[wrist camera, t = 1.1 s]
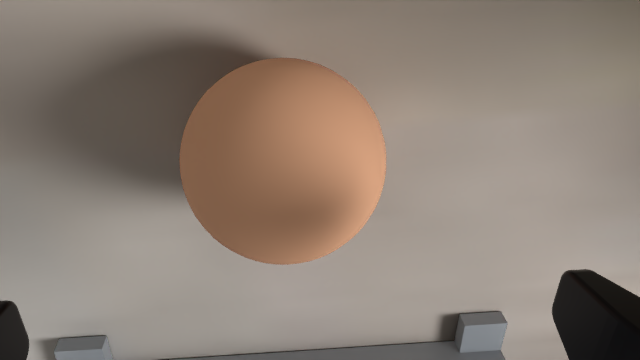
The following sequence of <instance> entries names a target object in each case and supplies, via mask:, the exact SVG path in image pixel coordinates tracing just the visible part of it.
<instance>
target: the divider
mask: <svg viewBox="0 0 640 360" xmlns="http://www.w3.org/2000/svg"><path fill="white" fill-rule="evenodd" d="M506 327H507V321H506V320H505V318H504V316H503V314H502V312H485V313H469V314H460V315H459V320H458V326H457V331H456V336H455V341H445V342H430V343H415V344H400V345H384V346H369V347H354V348H339V349H324V350H308V351H293V352H278V353H263V354H247V355H232V356H217V357H202V358H187V359H171V360H505V358H504V356H503V354H502V352H501V347H502V343H503V339H504V335H505V331H506ZM54 354H55V357H56V360H113V358H112V354H111V350H110V347H109V343H108V339H107V336H94V337H78V338H62V339H59V341H58V343H57V346H56V348H55V350H54Z"/></svg>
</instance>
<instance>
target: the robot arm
mask: <svg viewBox="0 0 640 360" xmlns="http://www.w3.org/2000/svg"><path fill="white" fill-rule="evenodd" d="M552 315H553V319H554V322H555V325H556V327H557V330H558V333H559V335H560V338H561V340H562V343H563V345H564V348H565V350H566V353H567V355H568V358H569V360H640V297H638V296H637V295H635V294H633V293H631V292H629V291H628V290H626V289H624V288H622V287H620V286H619V285H617V284H615V283H613V282H612V281H610V280H608V279H606V278H604V277H603V276H601V275H599V274H597V273H595V272H594V271H591V270H587V269H583V270H568V271H566V272H564V274H563V275H562V277H561V280H560V283H559V286H558V289H557V293H556V296H555V299H554V303H553V307H552ZM28 351H29V339H28V335H27V332H26V330H25V327H24V324H23V322H22V319H21V316H20V314H19V311H18V308H17V306H16V305H15V304H14V302H12V301H0V360H26V359H27V355H28Z"/></svg>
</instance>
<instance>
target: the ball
mask: <svg viewBox="0 0 640 360" xmlns="http://www.w3.org/2000/svg"><path fill="white" fill-rule="evenodd" d="M179 161H180V174H181V180H182V185H183V190H184V192H185V195H186V198H187V201H188V203H189V205H190V207H191V209H192V211H193V213H194V214H195V216H196V218H197V219H198V220H199V222H200V223H201V224H202V226H203V227H204V228H205V229H206V230H207V231H208V232H209V233H210V234H211V236H212V237H213V238H214V239H216V240H217V241H218V242H220V243H221V244H222V245H223V246H225V247H227V248H228V249H230V250H232V251H233V252H235V253H237V254H239V255H241V256H244V257H246V258H249V259H252V260H255V261H259V262H263V263H270V264H297V263H303V262H308V261H311V260H315V259H318V258H321V257H323V256H325V255H327V254H330V253H331V252H333V251H335V250H337V249H338V248H340V247H341V246H342V245H344V244H345V243H347V242H348V241H349V240H350V239H352V238H353V237H354V236H355V235H356V234H357V233H358V232H359V231H360V230H361V228H362V227H363V226H364V225H365V224H366V222H367V220H368V219H369V217H370V216H371V214H372V213H373V211H374V209H375V207H376V205H377V203H378V201H379V198H380V195H381V192H382V189H383V185H384V180H385V174H386V149H385V142H384V138H383V135H382V131H381V128H380V124H379V122H378V120H377V118H376V115H375V113H374V112H373V110H372V109H371V107H370V105H369V104H368V102H367V101H366V99H365V98H364V97H363V96H362V94H361V93H360V92H359V91H358V90H357V89H356V88H355V87H354V86H353V85H352V84H351V83H349V82H348V81H347V80H346V79H344V78H343V77H341V76H340V75H338V74H337V73H335V72H334V71H332V70H330V69H328V68H326V67H324V66H322V65H319V64H316V63H313V62H310V61H305V60H300V59H293V58H273V59H265V60H260V61H256V62H252V63H250V64H247V65H244V66H241V67H239V68H237V69H235V70H233V71H231V72H230V73H228V74H227V75H225V76H224V77H222V78H221V79H220V80H218V81H217V82H216V83H215V84H214V85H213V86H212V87H211V88H210V89H208V90H207V91H206V93H205V94H204V95H203V96H202V97H201V99H200V100H199V101H198V103H197V105H196V106H195V108H194V109H193V111H192V113H191V115H190V117H189V119H188V122H187V124H186V126H185V129H184V133H183V137H182V141H181V148H180V158H179Z"/></svg>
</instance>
